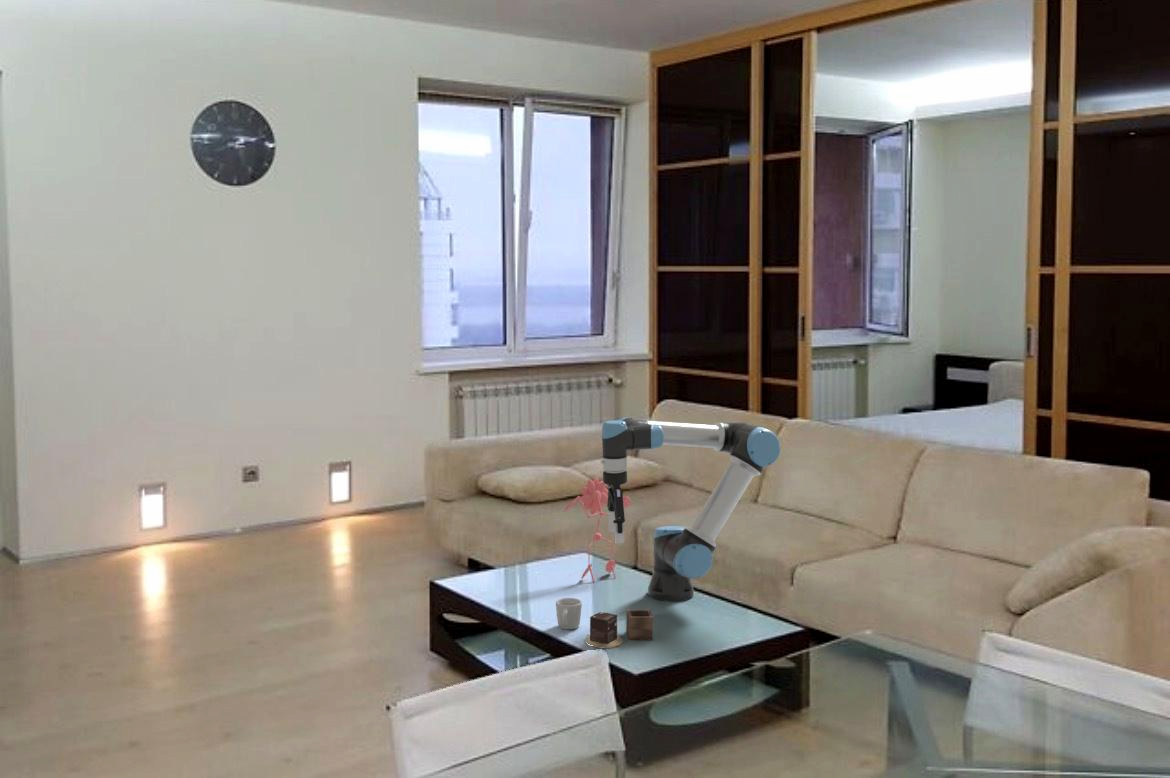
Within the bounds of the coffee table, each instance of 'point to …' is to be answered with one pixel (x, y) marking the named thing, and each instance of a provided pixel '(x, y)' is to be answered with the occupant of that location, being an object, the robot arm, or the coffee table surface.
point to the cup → (568, 612)
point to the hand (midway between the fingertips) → (616, 537)
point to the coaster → (609, 645)
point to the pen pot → (639, 625)
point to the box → (603, 627)
